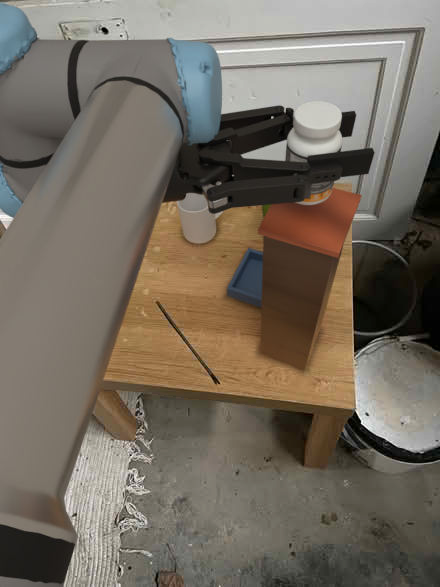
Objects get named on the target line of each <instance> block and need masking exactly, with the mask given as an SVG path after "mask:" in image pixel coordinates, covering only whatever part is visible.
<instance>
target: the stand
mask: <svg viewBox="0 0 440 587" xmlns="http://www.w3.org/2000/svg"><path fill="white" fill-rule="evenodd" d="M362 196H363V195H362V194H359V193H355V192H351V191H347V190H343V189H339V188H335V187H333V189H332V192H331V194H330V196H329V197H328V198H327V199H326V200H325V201H323V202H321V203H319V204H315V205H302V204H298V203H296V202H292V203H281V204H271V206H270V208H269V210H268V212H267V213H266V215H265V217H263V219H262V221H261V222H260V224H259V227H258V229H257V235H259V236H262V238H263V241H262V252H263V270H262V306H261V309H260V310H261V312H260V344H259V345H260V347H259V349H260V350H259V353H260V355H263V356H265V357H268V358H271V359H273V360H276V361H278V362H281V363H283V364H285V365H289V366H292V367H294V368H297V369H300V370H302V371H306V369H307V366H308V364H309V360H310V358H311V356H312V353H313V350H314V347H315V344H316V342H317V339H318V338H319V337H318V336H319V334H320V332H321V328H322V325H323V321H324V317H325V314H326V309H327V306H328V302H329V299H330V296H331V292H332V288H333V284H334V282H335V277H336V273H337V270H338V266H339V263H340V259H341V256H342V252H343V249H344V245H345V241H346V239H347V236H348V234H349V231H350V228H351V226H352V224H353V221H354V218H355V215H356V213H357V210H358V207H359V206H360V202H361V200H362Z"/></svg>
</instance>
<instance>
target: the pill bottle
mask: <svg viewBox="0 0 440 587" xmlns="http://www.w3.org/2000/svg"><path fill="white" fill-rule="evenodd" d="M341 112H342V111H341V110H340V108H339V107H338V106H336V105H335V104H333V103H331V102H328V101H322V100H312V101H307V102H304V103H303V104H301V105H299V106H298V107H297V108H296V109H295V110H294V116H293V117H294V120H293V126H294V127H293V128H292V129H291V131H290V132H289V134H288V137H287V140H286V146H285V159H284V161H294V162H306V163H307V160H308V156H310V155H318V154H326V153H334V152H342V147H343V138H342V135H341V133H340V131H339V128H340V125H341V119H342V114H341ZM296 174H297V173H296ZM296 174H294V175H296ZM294 175H293V176H294ZM334 184H335V181H332V182H324V183H316V184H310V185H309V186H308V187H307V191H306V195H305V199H304V200H303V201H301V202H296V203H298V204H302V205H315V204H319V203H321V202H323V201H325V200H326V199H327V198H328V197H329V196H330V194H331V192H332V189H333V188H334Z"/></svg>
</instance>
